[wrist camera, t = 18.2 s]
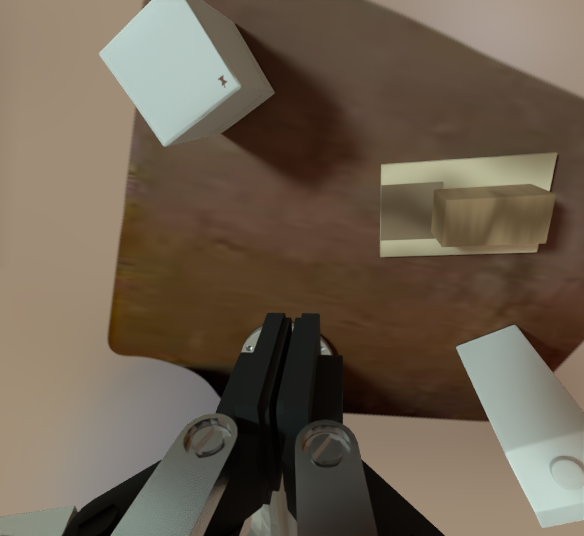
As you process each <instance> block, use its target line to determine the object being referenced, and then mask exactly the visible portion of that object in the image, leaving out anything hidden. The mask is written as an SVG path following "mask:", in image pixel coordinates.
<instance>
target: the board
mask: <svg viewBox="0 0 584 536" xmlns="http://www.w3.org/2000/svg"><path fill="white" fill-rule="evenodd" d="M556 158H557V153H555V152H550V153H536V154H522V155H507V156H493V157H479V158H465V159H450V160H436V161H422V162H408V163H394V164H381V208H380V257H399V256H432V255H464V254H497V253H529V252H537V250H538V245H539V244H517V245H490V246H463V247H441V245H440V244H439V242H438V241H437V240H436V238H435V237H434V236H433V234H432V233H431V224H432V211H433V198H434V190H436V189H453V188H469V187H486V186H503V185H519V184H533V185H535V186H537V187H540V188H542V189H545V190H547V191H550V187H551V182H552V177H553V172H554V167H555V162H556Z"/></svg>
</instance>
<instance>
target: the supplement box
mask: <svg viewBox="0 0 584 536" xmlns="http://www.w3.org/2000/svg"><path fill="white" fill-rule="evenodd" d="M99 56H100V57H101V58H102V60H103V61H104V62H105V64H106V65H107V67H108V68H109V69H110V70H111V72H112V73H113V75H114V76H115V78H116V79H117V80H118V82H119V83H120V84H121V86H122V87H123V88H124V90H125V91H126V93H127V94H128V96H129V97H130V98H131V100H132V101H133V103H134V104H135V106H136V107H137V109H138V110H139V111H140V113H141V114H142V116H143V117H144V119H145V120H146V122H147V123H148V125H149V126H150V127H151V129H152V130H153V132H154V133H155V135H156V136H157V138H158V139H159V140H160V142H161V143H162V145H163V146H164V147H167V146H172V145H176V144H181V143H185V142H189V141H192V140H196V139H200V138H204V137H208V136H212V135H217V134H221V133H222V132H224V131H225V130H227V129H228V128H230V127H231V126H232V125H234V124H235V123H236V122H238V121H239V120H240V119H242V118H243V117H244V116H246V115H247V114H248V113H250V112H251V111H252V110H254V109H255V108H256V107H258V106H259V105H260V104H262V103H263V102H264V101H266V100H267V99H268V98H269V97H271V96H272V95H274V94H275V92H274V90H273V89H272V87H271V85H270V83H269V82H268V80H267V78H266V77H265V75H264V73H263V72H262V70H261V68H260V66H259V65H258V63H257V61H256V60H255V58H254V56H253V54H252V53H251V51H250V49H249V48H248V46H247V44H246V42H245V41H244V39H243V37H242V36H241V34H240V32H239V31H238V29H237V27H236V26H235V24H234V22H233V21H231V20H230V19H228V18H227V17H226V16H224V15H223V14H221V13H220V12H218V11H217V10H215V9H214V8H213V7H211V6H210V5H208V4H207V3H206V2H204V1H203V0H151V1H150V2H149V3H148V4H147V5H146V6H145V7H144V8H143V9H142V10H141V11H140V12H139V13H138V14H137V15H136V16H135V17H134V18H133V19H132V20H131V21H130V22H129V23H128V24H127V25H126V26H125V28H123V29H122V30H121V31H120V32H119V34H117V36H115V37H114V38H113V39H112V40H111V42H109V43H108V44H107V45H106V46H105V47H104V49H103V50H101V51H100V52H99Z"/></svg>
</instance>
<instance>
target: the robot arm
mask: <svg viewBox="0 0 584 536" xmlns="http://www.w3.org/2000/svg"><path fill="white" fill-rule="evenodd" d="M0 536H445V535H444V534H442V533H441V532H440V531H439V530H438V529H437V528H436V527H435V526H434V525H433V524H432V523H431V522H429V521H428V520H427V519H426V518H425V517H424V516H423V515H422V514H421V513H420V512H418V511H417V510H416V509H415V508H414V507H413V506H412V505H411V504H410V503H408V501H406V500H405V499H404V498H403V497H402V496H401V495H400V494H399V493H398V492H397V491H396V490H394V489H393V488H392V487H391V486H390V485H389V484H388V483H386V482H385V480H383V479H382V478H381V477H380V476H379V475H378V474H377V473H376V472H375V471H374V470H372V469H371V468H370V467H369V466H368V465H367V464H366V463H365V462H364V461H363V460H362V459H361V455H360V451H359V446H358V442H357V440H356V438H355V435H354V434H353V433H352V431H351V430H350V429H349V428H348V427H346V426H345V425H343V355H333V353H332V350H331V348H330V346H329V345H328V343H327V342H326V341H325V340H324V339H323V337H321V336H320V315H319V314H309V313H303V314H302V317H301V318H296V319H295V323H292V320H291V318H286V316H285V313H267V316H266V318H265V321H264V324H263V326H262V327H260V328H258V329H256V330H255V331H254V332H253V333H252V334H251V335H250V336H249V337H248V339H247V340H246V342H245V344H244V346H243V349H242V352H241V354H240V355H239V357H238V360H237V362H236V365H235V367H234V369H233V372H232V374H231V377H230V379H229V381H228V384H227V386H226V389H225V391H224V393H223V396H222V398H221V401H220V403H219V405H218V408H217V411H216V413H212V414H206V415H203V416H200V417H198V418H196V419H194V420H193V421H191V422H190V423H189V424H187V425H186V426H185V427H184V429H183V430H182V431H181V432H180V434H179V435H178V437H177V438H176V440H175V441H174V443H173V444H172V446H171V447H170V449H169V450H168V451H167V453H166V455H165V456H164V457H163V459H162V460H160V461H158V462H157V463H155V464H153V465H152V466H150V467H148V468H146V469H145V470H143V471H141V472H140V473H138V474H136V475H135V476H133V477H131V478H129V479H128V480H126V481H124V482H123V483H121V484H119V485H118V486H116V487H115V488H112V489H111V490H109V491H107V492H106V493H104V494H102V495H101V496H99V497H97V498H95V499H94V500H92V501H91V502H90V503H88V504H87V505H86V506H84V507H83V508H82V509H81V510H77V509H76V507H75V506H69V507H62V508H56V509H50V510H42V511H36V512H29V513H22V514H16V515H9V516H2V517H0Z"/></svg>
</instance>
